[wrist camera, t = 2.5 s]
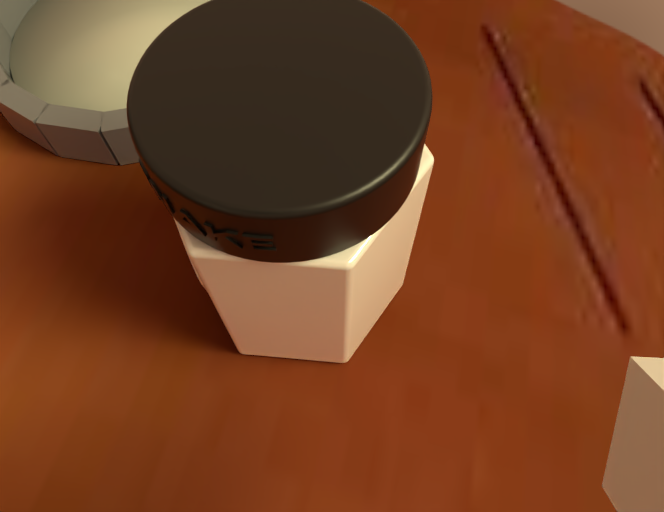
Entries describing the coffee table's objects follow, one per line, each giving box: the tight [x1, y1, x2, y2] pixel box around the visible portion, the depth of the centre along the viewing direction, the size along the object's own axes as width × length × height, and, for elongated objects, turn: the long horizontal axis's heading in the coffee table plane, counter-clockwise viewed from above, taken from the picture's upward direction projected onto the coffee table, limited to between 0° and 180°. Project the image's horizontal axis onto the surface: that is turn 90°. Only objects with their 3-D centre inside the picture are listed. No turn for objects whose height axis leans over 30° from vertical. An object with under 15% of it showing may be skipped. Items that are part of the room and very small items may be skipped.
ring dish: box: [0, 0, 210, 165], centre depth 31 cm, size 16×16×3 cm
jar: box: [126, 0, 434, 363], centre depth 20 cm, size 9×8×12 cm
